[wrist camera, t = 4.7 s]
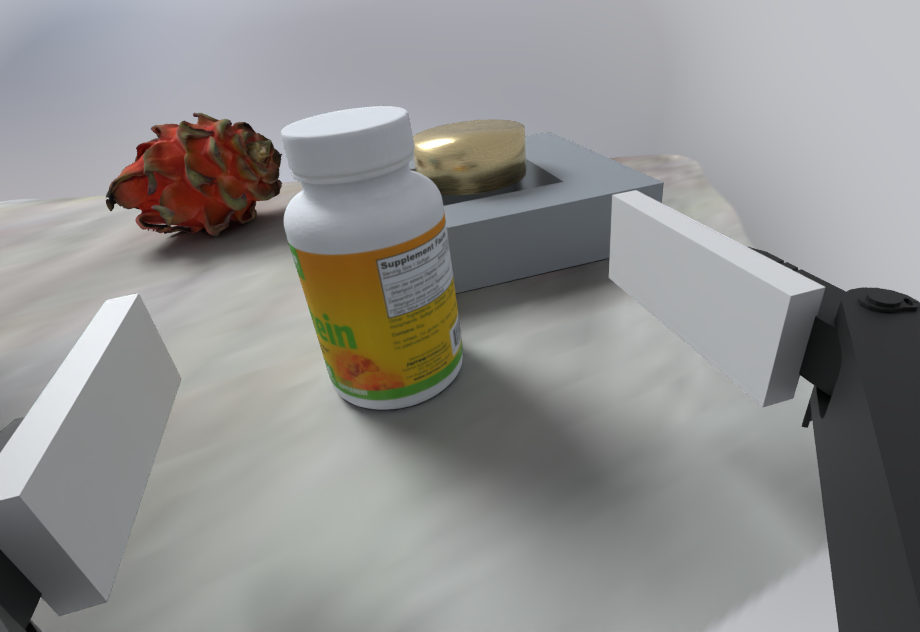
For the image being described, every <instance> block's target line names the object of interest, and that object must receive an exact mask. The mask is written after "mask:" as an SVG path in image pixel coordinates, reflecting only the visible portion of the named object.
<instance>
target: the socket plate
mask: <svg viewBox="0 0 920 632" xmlns="http://www.w3.org/2000/svg"><path fill="white" fill-rule="evenodd" d="M525 149H526V171H527V173H526V175H525V177H524V178H523V179H522V180H520V181H519V182H517V183H515V184H513V185H510V186H508V187H505V188H502V189H498V190H494V191H490V192H484V193H478V194H469V195H441V197H442V201H443V206H444V211H445V219H446V226H447V234H448V242H449V249H450V256H451V264H452V271H453V278H454V286H455V293H460V292H464V291H469V290H473V289H477V288H481V287H486V286H490V285H494V284H499V283H503V282H507V281H512V280H516V279H520V278H525V277H529V276H533V275H538V274H542V273H546V272H550V271H555V270H559V269H563V268H568V267H572V266H576V265H581V264H585V263H589V262H594V261H598V260H602V259H607V258H610V236H611V213H612V195H614V194H619V193H624V192H629V191H634V190H637V191H639V192H641V193H643V194H644V195H646V196H648V197H650V198H652V199H654V200H656V201H658V202H660V203H662V195H663V184H664V182H661V181H659V180H657V179H655V178H652V177H650V176H648V175H646V174H643V173H641V172H639V171H637V170H634V169H632V168H630V167H628V166H625V165H623V164H621V163H619V162H616V161H614V160H612V159H610V158H607V157H605V156H603V155H600V154H598V153H596V152H594V151H592V150H589V149H587V148H585V147H583V146H580V145H578V144H576V143H574V142H572V141H569V140H567V139H565V138H563V137H560V136H558V135H556V134H554V133H551V132H547V133H541V134H536V135H530V136H525ZM409 167H410V170H411V171H415V172H416V170H415V163H414V158H413V160H412V161H411V162H409Z"/></svg>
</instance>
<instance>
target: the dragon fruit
mask: <svg viewBox="0 0 920 632" xmlns="http://www.w3.org/2000/svg"><path fill="white" fill-rule="evenodd" d="M193 116H194V117H198V123H197V124H191V123H189V122H186V121H182V122H181V123H180V125H177V124H164V125H155V126H153V127H152V128H151V130H152V131H153V132H154V133H156V134H157V136H158V138H155V139H153V140H151V141H149V142H146V143H142V144H140V145H138V146H137V148H136V149H137V156H136V159H135V162H134V163H132V164H131V165H129V166H127V167H125V169H123V171H122V172H121V174H120V175H119V176H118V178H116V179H115V180H114V181H113V182H112V183H111V185H110V187H109V191H108V193H107V195H106V197H108V198H109V199H107V200H106V204H107V207H108V208H109V210H110V211H112V210H113V208H114V204H116V203H117V204H118V205H119V206H123V208H126V209H132V208H136V209H140V210H142V213H141V214H140V215H138V216H137V218H136V223H137V224H138V225H139V226H140V228H142V229H143V230H144V229H145V230H146V229H148V231H149V229H153V231H154V230H156V231H157V232H158V233H163V232H164V233H165V234H166V233H172V232H177V231H184V232H188V233H196V232H198V231H200V230H202V229H203V228H205V229H206V231H207V232H208V233H209V234H210V235H212V236H218V235H219V233H220V232H221V231H222V230H223V229H225V228H227V227H228V226H229V222H230V219H231V220H234V221H236V222H239V223H242V224H244V223H246V222H249V221H251V220H252V219H254V218H255V217H256V214H257V212H256V210H255V206H256V201H266V200H269V199H271V198H272V197H275V196H277V195H278V194H279V193H280V188H281V187H282V185H281V184H282V183H281V181H280V180H278V178H279V167H280V163H281V155H282V154H280V153H279V152H278V151H277V150H276V149H274V147H273V144H272V142H271V140H269V139H267V138H265V137H264V136H263V135H261V134H259V133H256V132H255V131H254V130H253V129H252V127H251V126H250V125H249V124H247V123H245V122H237V123H235V124H234V125H233V126H231V125H232V123H231V121H230V120H228V119H223V120H217V119H214V118H212V117H209V116H208V115H205V114H203V113H194V114H193ZM148 223H149V224H148ZM158 224H167V225H158ZM171 225H178V226H174V227H171Z"/></svg>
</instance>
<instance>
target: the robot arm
mask: <svg viewBox="0 0 920 632" xmlns="http://www.w3.org/2000/svg"><path fill="white" fill-rule="evenodd" d="M609 279H611V280H612V281H613V282H614V283H615V284H617V285H618V286H619V287H620V288H621V289H623V290H624V291H625V292H626V293H627V294H629V295H630V296H631V297H632V298H633V299H634V300H636V301H637V302H638V303H639V304H640V305H642V306H643V307H644V308H645V309H646V310H648V311H649V312H650V313H651V314H652V315H653V316H655V317H656V318H657V319H658V320H659V321H661V322H662V323H663V324H664V325H665V326H667V327H668V328H669V329H670V330H671V331H672V332H674V333H675V334H676V335H677V336H678V337H680V338H681V339H682V340H683V341H684V342H686V343H687V344H688V345H689V346H690V347H691V348H693V349H694V350H695V351H696V352H697V353H699V354H700V355H701V356H702V357H703V358H705V359H706V360H707V361H708V362H709V363H711V364H712V365H713V366H714V367H715V368H716V369H718V370H719V371H720V372H721V373H722V374H724V375H725V376H726V377H727V378H728V379H730V380H731V381H732V382H733V383H734V384H735V385H737V386H738V387H739V388H740V389H741V390H743V391H744V392H745V393H746V394H747V395H749V396H750V397H751V398H752V399H753V400H754V401H756V402H757V403H758V404H759V405H760V406H762V407H766V406H769V405H773V404H776V403H779V402H783V401H786V400H789V399H793V397H794V394H795V390H796V387H797V384H798V380H799V377H800V375H801V376H802V377H804V378H805V379H806V380H808V381H809V382H811V383H812V384H813V385H814V388H813V391H812V394H811V397H810V400H809V404H808V407H807V410H806V413H805V416H804V420H803V423H802V427H806V428H808V425H809V422H810V421H812V420H813V428H814V436H815V444H816V452H817V460H818V468H819V476H820V484H821V492H822V500H823V508H824V516H825V524H826V532H827V540H828V548H829V556H830V564H831V572H832V580H833V588H834V596H835V604H836V612H837V620H838V628H839V632H920V302H919V301H917V300H915V299H913V298H911V297H909V296H908V295H905V294H902V293H898V292H895V291H892V290H886V289H880V288H857V289H851V290H849V291H847V292H845V291H844V290H842V289H840V288H838V287H836V286H834V285H831V284H830V283H828V282H826V281H824V280H821V279H820V278H818V277H815V276H814V275H812V274H810V273H808V272H806V271H804V270H798V267H796V266H794V265H792V264H789V263H788V262H787V263H784V261H783V260H782V259H779V258H778V257H776V256H774V255H772V254H770V253H768V252H765V251H761V250H758V249H754V248H750V247H746V246H744V245H742V244H740V243H738V242H736V241H734V240H732V239H731V238H729V237H727V236H725V235H723V234H721V233H719V232H717V231H715V230H713V229H711V228H709V227H707V226H705V225H703V224H701V223H699V222H697V221H695V220H693V219H691V218H689V217H687V216H686V215H684V214H682V213H680V212H678V211H676V210H674V209H672V208H670V207H668V206H666V205H664V204H662V203H660V202H658V201H656V200H654V199H652V198H650V197H648V196H646V195H644V194H643V193H641V192H639V191H637V190H634V191H629V192H624V193H619V194H614V195H612V213H611V236H610V260H609ZM180 382H181V377H180V375H179V373H178V371H177V369H176V367H175V365H174V363H173V361H172V359H171V357H170V355H169V353H168V351H167V349H166V347H165V345H164V343H163V341H162V339H161V337H160V335H159V333H158V331H157V329H156V327H155V325H154V323H153V321H152V319H151V317H150V315H149V313H148V311H147V309H146V307H145V305H144V303H143V301H142V299H141V297H140V295H139V293H137V294H132V295H127V296H123V297H118V298H113V299H108V300H106V301H105V302H104V304H103V305H102V307H101V308H100V310H99V311H98V313H97V314H96V315H95V317H94V318H93V320H92V321H91V323H90V324H89V326H88V327H87V328H86V330H85V331H84V333H83V334H82V336H81V337H80V339H79V340H78V341H77V343H76V344H75V346H74V347H73V349H72V350H71V352H70V353H69V354H68V356H67V357H66V359H65V360H64V362H63V363H62V365H61V366H60V367H59V369H58V370H57V372H56V373H55V375H54V376H53V378H52V379H51V380H50V382H49V383H48V385H47V386H46V388H45V389H44V391H43V392H42V393H41V395H40V396H39V398H38V399H37V401H36V402H35V403H34V405H33V406H32V408H31V409H30V411H29V412H28V414H27V415H26V416H25V417H23V418H19V419H15V420H14V421H13V422H11V423H10V424H9V425H8V426H7V427H5V428H4V429H3V430H2V431H1V432H0V632H42V631H41V630H40V629H39V628H38V627H37V626H36V625H35V624H34V623H33V622H32V621H31V620H30V619H31V617H32V615H33V613H34V610H35V608H36V606H37V604H38V602H39V599H40V597H42V598H43V599H44V601H45V602H46V603H47V604H48V605H49V606H50V607H51V608H52V609H53V610H54V611H55V612H56V613H57V614H58V615H59V616H61V615H65V614H68V613H71V612H75V611H78V610H81V609H85V608H88V607H92V606H95V605H98V604H102V603H105V602H107V601H108V598H109V595H110V592H111V589H112V586H113V583H114V580H115V577H116V574H117V571H118V568H119V565H120V562H121V559H122V556H123V553H124V550H125V547H126V544H127V541H128V538H129V535H130V532H131V529H132V526H133V523H134V520H135V517H136V514H137V511H138V508H139V505H140V502H141V499H142V496H143V493H144V490H145V487H146V484H147V481H148V478H149V475H150V472H151V469H152V466H153V463H154V460H155V457H156V454H157V451H158V448H159V445H160V442H161V439H162V436H163V433H164V430H165V427H166V424H167V421H168V418H169V415H170V412H171V409H172V406H173V403H174V400H175V397H176V394H177V391H178V388H179V385H180Z"/></svg>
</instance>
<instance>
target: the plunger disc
mask: <svg viewBox="0 0 920 632" xmlns="http://www.w3.org/2000/svg"><path fill="white" fill-rule="evenodd" d="M413 140H414V144H415V148H414V150H413V151H414V163H415V170H416V172H418V173H420V174H422V175H424V176H426V177H428V178H429V179H430V180H431V181H433V183H434V184H435V185H436V186H437V188H438V189H439V191H440V194H441V195H469V194H478V193H484V192H490V191H494V190H498V189H502V188H505V187H508V186H510V185H513V184H515V183H517V182H519V181H520V180H522V179H523V178H524V177H525V175H526V173H527V171H526V149H525V128H524V125H523V124H521V123H519V122H515V121H510V120H474V121H465V122H458V123H452V124H446V125H442V126H438V127H434V128H431V129H428V130H425V131H422V132H420V133H418V134H416V135H415V136H413Z"/></svg>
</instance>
